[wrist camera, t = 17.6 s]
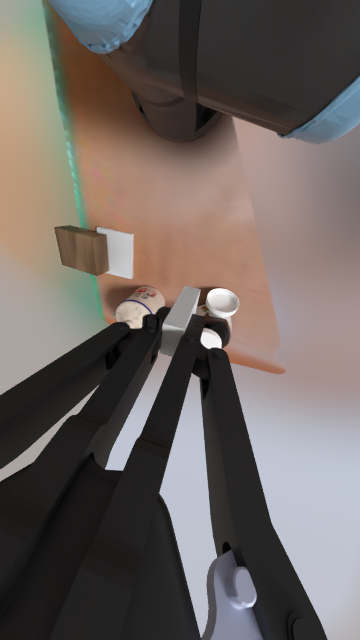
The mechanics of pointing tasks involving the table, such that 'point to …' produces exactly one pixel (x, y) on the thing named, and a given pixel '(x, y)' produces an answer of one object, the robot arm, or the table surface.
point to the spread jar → (217, 317)
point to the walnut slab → (83, 249)
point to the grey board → (119, 252)
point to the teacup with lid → (139, 306)
